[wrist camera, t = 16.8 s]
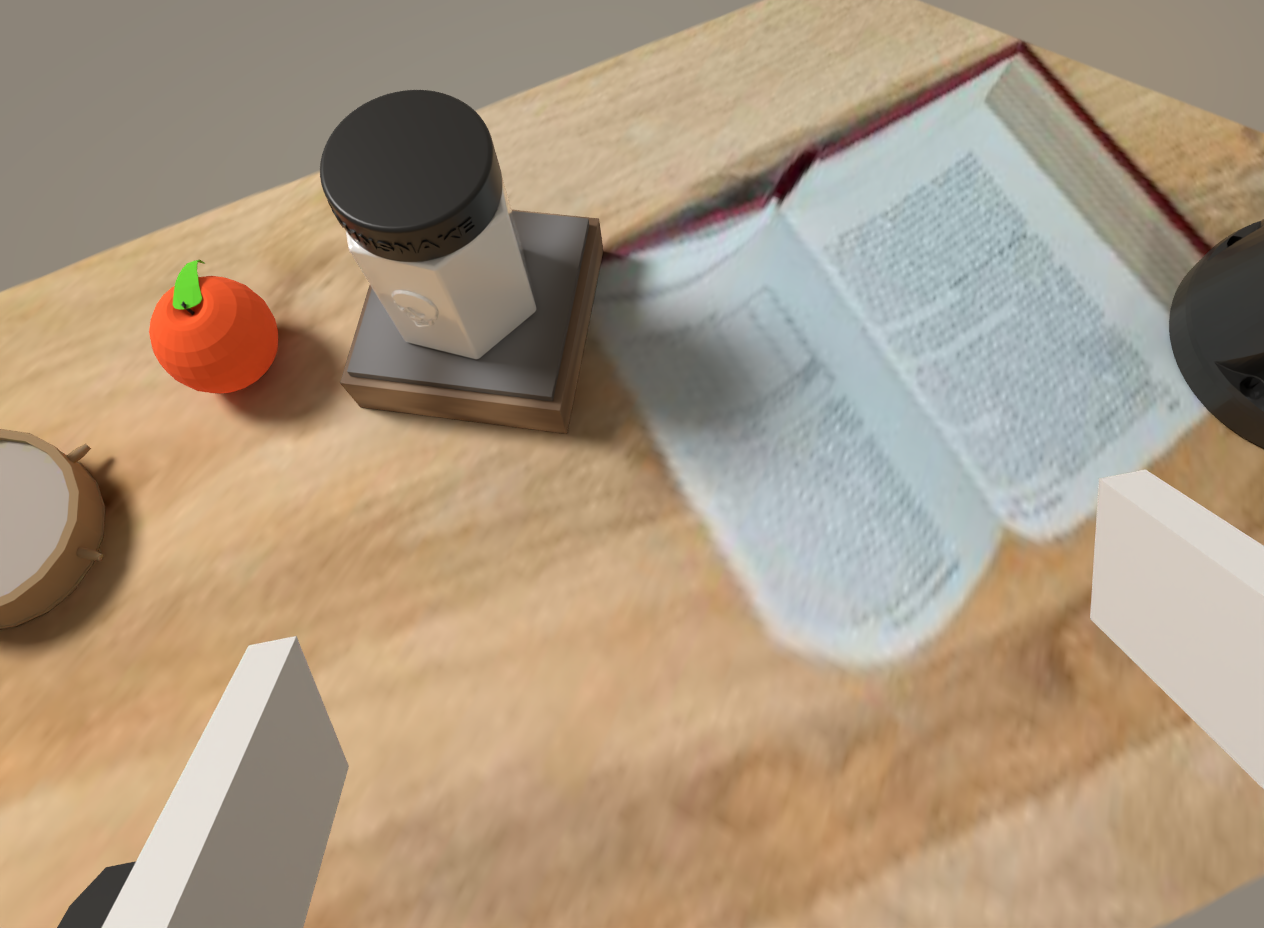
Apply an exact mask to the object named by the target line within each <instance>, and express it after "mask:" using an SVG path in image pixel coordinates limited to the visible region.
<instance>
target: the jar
mask: <svg viewBox="0 0 1264 928" xmlns="http://www.w3.org/2000/svg"><path fill="white" fill-rule="evenodd" d="M320 178H321V184H322V187H323V191H324V193H325V196H326V198H327V199H328V203H329V205H330V206H331V208H332V211H333V213H334V215H335V216H336V218H337V220H338V221H339V223H340V224H341V226H342V227H343V228H345V230H346V234H347V241H348V248H349V251H350V252H351V254H352V256H353V257H354V259H355V261H356V262H357V264H358V265H359V267H360V269H361V270H362V272H363V274H364V275H365V277H366V279H367V280H368V282H369V283H370V285H371V287H372V288H373V290H374V292H375V293H376V295H377V296H378V298H379V300H380V301H381V303H382V305H383V306H384V308H385V309H386V311H387V313H388V314H389V316H390V318H391V319H392V321H393V323H394V324H395V326H396V327H397V329H398V331H399V332H400V334H401V336H402V337H403V339H404V340H405V341H406V342H408V343H412V344H416V345H420V346H424V347H428V348H432V349H436V350H440V351H444V352H448V353H452V354H456V355H460V356H464V357H468V358H472V359H479V358H481V357H482V356H483V355H484V354H485V353H487V352H488V351H489V350H490V349H491V348H493V347H494V346H495V345H496V344H497V343H499V342H500V341H501V340H502V339H503V338H505V337H506V336H507V335H508V334H509V333H511V332H512V331H513V330H514V329H515V328H517V327H518V326H519V325H520V324H521V323H523V322H524V321H525V320H526V319H527V318H529V317H530V316H531V315H532V314H533V313H535V311H536V304H535V299H534V295H533V291H532V286H531V282H530V278H529V274H528V269H527V265H526V261H525V256H524V252H523V248H522V244H521V241H520V237H519V234H518V230H517V227H516V223H515V220H514V217H513V213H512V210H511V206H510V203H509V199H508V196H507V192H506V189H505V185H504V182H503V178H502V174H501V170H500V166H499V163H498V159H497V156H496V152H495V149H494V145H493V142H492V138H491V135H490V132H489V130H488V128H487V126H486V124H485V123H484V121H483V120H482V118H481V117H480V116H479V115H478V114H477V113H476V112H475V111H474V110H473V109H472V108H471V107H469V106H468V105H467V104H465V103H464V102H462V101H460V100H459V99H456V98H454V97H452V96H449V95H446V94H443V93H439V92H435V91H427V90H407V91H400V92H395V93H390V94H387V95H383V96H380V97H378V98H375V99H373V100H371V101H369V102H367V103H365V104H363V105H362V106H360V107H358V108H357V109H356V110H354V111H353V112H352V113H350V114H349V115H348V116H347V117H346V118H345V119H344V120H343V121H342V122H340V124H339V125H338V126H337V127H336V128H335V130H334V131H333V133H332V134H331V136H330V138H329V140H328V141H327V144H326V146H325V148H324V151H323V154H322V158H321V163H320Z"/></svg>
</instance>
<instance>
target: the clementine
mask: <svg viewBox="0 0 1264 928" xmlns="http://www.w3.org/2000/svg"><path fill="white" fill-rule="evenodd" d="M198 262H200V263H204V262H203V261H201V260H196V261H193V262H190V263H187V264H186V265H185V267H184V268H183V269H182V270H181V272H180V273H179V275H178V278H177V280H176V283H175V286H174V287H172V288H171V289H170V290H169V291H168V292H166V293H165V294H164V295H163V296H162V298H161V299H160V300H159V302H158V303H157V305H156V307H155V310H154V312H153V315H152V318H151V322H150V330H149V333H150V339H151V344H152V348H153V351H154V354H155V356H156V357H157V359H158V361H159V363H160V364H161V365H162V367H163V368H164V369H165V370H166V371H167V372H168V373H169V374H170V375H171V376H172V377H173V378H174V379H175V380H177V381H178V382H180V383H182V384H184V385H186V386H188V387H190V388H193V389H195V390H197V391H202V392H209V393H230V392H235V391H238V390H241V389H244V388H246V387H248V386H249V385H251V384H253V383H254V382H256V381H257V380H258V379H259V378H260V377H261V376H263V375H264V374H265V373H266V372H267V370H268V369H269V367H270V366H271V364H272V363H273V361H274V358H275V355H276V353H277V349H278V329H277V325H276V321H275V318H274V316H273V314H272V313H271V311H270V309H269V308H268V306H267V305H266V303H265V301H264V300H263V299H262V298H261V297H259V296H258V295H257V294H256V293H255V292H253V291H252V290H251V289H250V288H248V287H247V286H246V285H244V284H241V283H239V282H236V281H234V280H231V279H227V278H224V277H216V276H206V277H198V274H197V264H198ZM204 264H205V263H204Z"/></svg>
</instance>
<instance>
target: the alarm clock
mask: <svg viewBox="0 0 1264 928" xmlns="http://www.w3.org/2000/svg"><path fill="white" fill-rule="evenodd" d="M90 449H91V448H90V447H89V446H88V445H86V444H84V445H82V446H80V447H78V448H76V449H75V450H74V451H72V452H71V453H70V454H68V455H65V454H64V453H62V452H61V451H59V450H58V448H56V447H55V446H53V445H51V444H49V443H47V442H46V441H44V440H42V439H40V438H38V437H36V436H34V435H32V434H30V433H24V432H17V431H11V430H4V429H0V629H2V628H8V627H15V626H18V625H20V624H22V623H25V622H27V621H29V620H31V619H34V618H36V617H38V616H40V615H43V614H45V613H47V612H48V611H50V610H51V609H52V608H54V607H55V606H56V605H57V604H59V603H60V602H61V601H62V600H64V599H65V598H66V597H67V596H68V595H69V594H71V593H72V592H73V591H74V590H75V588H76V587H77V586H78V584H79V583H80V581H81V580H82V579H83V577H84V576H85V574H86V573H87V572H88V570H89V569H90V568H91V566H92V565H93V563H94V560H97V561H100V560H101V559H102V558H103V554H101V553H99V552H98V549H99V546H100V544H101V541H102V538H103V536H104V519H105V506H104V502H103V499H102V496H101V493H100V489H99V486H98V483H97V482H96V481H95V479H94V478H93V477H92V476H91V475H90V473H89V472H88V471H87V470H86V469H85V467H84V466H83V465H82V464H81V463H79V462H77V461H78V460H80V459H81V458H82V457H84V456H85V454H86V453H87V452H88V451H89V450H90Z"/></svg>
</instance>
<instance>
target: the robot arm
mask: <svg viewBox="0 0 1264 928" xmlns="http://www.w3.org/2000/svg"><path fill="white" fill-rule="evenodd" d="M1169 332H1170V340H1171V345H1172V350H1173V353H1174V357H1175V359H1176V362H1177V365H1178V367H1179V369H1180V371H1181V373H1182V375H1183V377H1184V379H1185V381H1186V382H1187V384H1188V385H1189V387H1190V388H1191V390H1192V391H1193V393H1194V394H1195V395H1196V397H1197V398H1198V399H1199V400H1200V401H1201V403H1202V404H1203V405H1204V406H1205V407H1206V408H1207V409H1208V410H1209V411H1210V412H1211V413H1212V414H1213V415H1214V416H1215V417H1216V418H1217V419H1218V420H1220V421H1221V422H1222V423H1223V424H1225V425H1226V426H1227V427H1229V428H1230V429H1231V430H1233V431H1234V432H1235V433H1237V434H1239V435H1240V436H1242V437H1243V438H1245V439H1247V440H1249V441H1250V442H1252V443H1254V444H1256V445H1258V446H1260V447H1262V448H1264V219H1263V220H1262V221H1259V222H1256V223H1253V224H1251V225H1249V226H1247V227H1244V228H1242V229H1240V230H1238V231H1236V232H1234V233H1233V234H1231V235H1229V236H1228V237H1226V238H1225V239H1223V240H1222V241H1221V242H1219V243H1218V244H1217V245H1215V246H1214V247H1213V248H1212V249H1211V250H1210V251H1209V252H1208V253H1207V254H1206V255H1205V256H1204V257H1203V258H1202V259H1201V260H1200V261H1199V262H1198V263H1197V264H1196V265H1195V266H1194V267H1193V268H1192V269H1191V270H1190V271H1189V272H1188V273H1187V275H1186V276H1185V277H1184V279H1183V280H1182V282H1181V283H1180V285H1179V287H1178V289H1177V291H1176V293H1175V296H1174V299H1173V302H1172V306H1171V311H1170V319H1169ZM1090 619H1091V620H1092V621H1093V622H1094V623H1095V624H1096V625H1097V626H1098V627H1099V628H1100V629H1101V630H1102V631H1103V632H1104V633H1105V634H1106V635H1107V636H1108V637H1109V638H1110V639H1111V640H1112V641H1113V642H1114V643H1116V644H1117V645H1118V646H1119V647H1120V648H1121V649H1122V650H1123V651H1124V652H1125V653H1126V654H1127V655H1128V656H1129V657H1130V658H1131V659H1132V660H1133V661H1134V662H1135V663H1136V664H1137V665H1138V666H1139V667H1140V668H1141V669H1142V670H1143V671H1144V672H1145V673H1146V674H1147V675H1148V676H1149V677H1150V678H1151V679H1152V680H1153V681H1154V682H1155V683H1156V684H1157V685H1158V686H1159V687H1160V688H1161V689H1162V690H1163V691H1164V692H1165V693H1166V694H1167V695H1168V696H1169V697H1170V698H1171V699H1172V700H1174V701H1175V702H1176V703H1177V704H1178V705H1179V706H1180V707H1181V708H1182V709H1183V710H1184V711H1185V712H1186V713H1187V714H1188V715H1189V716H1190V717H1191V718H1192V719H1193V720H1194V721H1195V722H1196V723H1197V724H1198V725H1199V726H1200V727H1201V728H1202V729H1203V730H1204V731H1205V732H1206V733H1207V734H1208V735H1209V736H1210V737H1211V738H1212V739H1213V740H1214V741H1215V742H1216V743H1217V744H1218V745H1219V746H1220V747H1221V748H1222V749H1223V750H1224V751H1225V752H1226V753H1227V754H1228V755H1229V756H1230V757H1232V758H1233V759H1234V760H1235V761H1236V762H1237V763H1238V764H1239V765H1240V766H1241V767H1242V768H1243V769H1244V770H1245V771H1246V772H1247V773H1248V774H1249V775H1250V776H1251V777H1252V778H1253V779H1254V780H1255V781H1256V782H1257V783H1258V784H1259V785H1260V786H1261V787H1262V788H1263V789H1264V546H1263V545H1261V544H1260V543H1258V542H1257V541H1255V540H1254V539H1252V538H1251V537H1249V536H1248V535H1246V534H1244V533H1243V532H1241V531H1240V530H1238V529H1237V528H1235V527H1234V526H1232V525H1230V524H1229V523H1227V522H1226V521H1224V520H1223V519H1221V518H1220V517H1218V516H1217V515H1215V514H1213V513H1212V512H1210V511H1209V510H1207V509H1206V508H1204V507H1203V506H1201V505H1199V504H1198V503H1196V502H1195V501H1193V500H1192V499H1190V498H1189V497H1187V496H1186V495H1184V494H1182V493H1181V492H1179V491H1178V490H1176V489H1175V488H1173V487H1172V486H1170V485H1169V484H1167V483H1165V482H1164V481H1162V480H1161V479H1159V478H1158V477H1156V476H1155V475H1153V474H1151V473H1150V472H1148V471H1147V470H1140V471H1135V472H1130V473H1125V474H1120V475H1115V476H1110V477H1104V478H1099V489H1098V505H1097V521H1096V536H1095V552H1094V568H1093V584H1092V599H1091V615H1090ZM348 767H349V766H348V763H347V761H346V758H345V756H344V753H343V751H342V748H341V746H340V743H339V741H338V738H337V736H336V733H335V731H334V728H333V726H332V724H331V721H330V719H329V716H328V714H327V711H326V709H325V706H324V704H323V701H322V699H321V696H320V694H319V691H318V689H317V686H316V684H315V681H314V679H313V676H312V674H311V671H310V669H309V666H308V664H307V661H306V659H305V656H304V654H303V651H302V649H301V647H300V644H299V642H298V639H297V637H296V636H295V637H289V638H284V639H279V640H274V641H269V642H264V643H259V644H254V645H249V646H248V648H247V650H246V652H245V654H244V655H243V657H242V659H241V661H240V663H239V665H238V667H237V669H236V671H235V673H234V675H233V677H232V679H231V680H230V682H229V684H228V686H227V688H226V690H225V692H224V694H223V696H222V698H221V700H220V702H219V703H218V705H217V707H216V709H215V711H214V713H213V715H212V717H211V719H210V721H209V723H208V725H207V727H206V728H205V730H204V732H203V734H202V736H201V738H200V740H199V742H198V744H197V746H196V748H195V750H194V751H193V753H192V755H191V757H190V759H189V761H188V763H187V765H186V767H185V769H184V771H183V773H182V775H181V776H180V778H179V780H178V782H177V784H176V786H175V788H174V790H173V792H172V794H171V796H170V798H169V799H168V801H167V803H166V805H165V807H164V809H163V811H162V813H161V815H160V817H159V819H158V821H157V822H156V824H155V826H154V828H153V830H152V832H151V834H150V836H149V838H148V840H147V842H146V844H145V846H144V847H143V849H142V851H141V853H140V855H139V857H138V859H137V861H136V862H131V863H126V864H121V865H116V866H111V867H106V868H105V869H104V870H103V871H102V872H101V873H100V874H99V875H98V876H97V878H96V879H95V880H94V881H93V882H92V883H91V884H90V885H89V886H88V887H87V888H86V889H85V890H84V891H83V892H82V893H81V894H80V896H79V897H78V898H77V899H76V900H75V901H74V902H73V903H72V904H71V905H70V906H69V908H68V910H67V912H66V913H65V915H64V917H63V918H62V920H61V922H60V924H59V925H58V927H57V928H303V926H304V923H305V919H306V915H307V912H308V908H309V905H310V901H311V898H312V894H313V891H314V887H315V884H316V880H317V877H318V873H319V870H320V866H321V862H322V859H323V855H324V852H325V848H326V845H327V841H328V838H329V834H330V831H331V827H332V824H333V820H334V817H335V813H336V810H337V806H338V802H339V799H340V795H341V792H342V788H343V785H344V781H345V778H346V774H347V771H348Z"/></svg>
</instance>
